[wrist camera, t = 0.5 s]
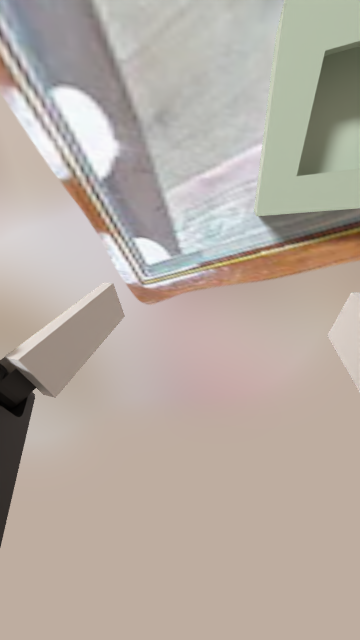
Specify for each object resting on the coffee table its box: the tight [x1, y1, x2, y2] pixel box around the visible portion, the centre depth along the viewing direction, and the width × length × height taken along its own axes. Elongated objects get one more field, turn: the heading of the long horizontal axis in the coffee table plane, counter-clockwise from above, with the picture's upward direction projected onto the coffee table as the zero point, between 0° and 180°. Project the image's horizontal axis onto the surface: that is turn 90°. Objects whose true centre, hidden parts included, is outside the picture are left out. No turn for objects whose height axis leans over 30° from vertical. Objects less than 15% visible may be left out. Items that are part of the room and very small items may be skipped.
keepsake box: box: [254, 0, 360, 216], centre depth 19 cm, size 16×16×6 cm
